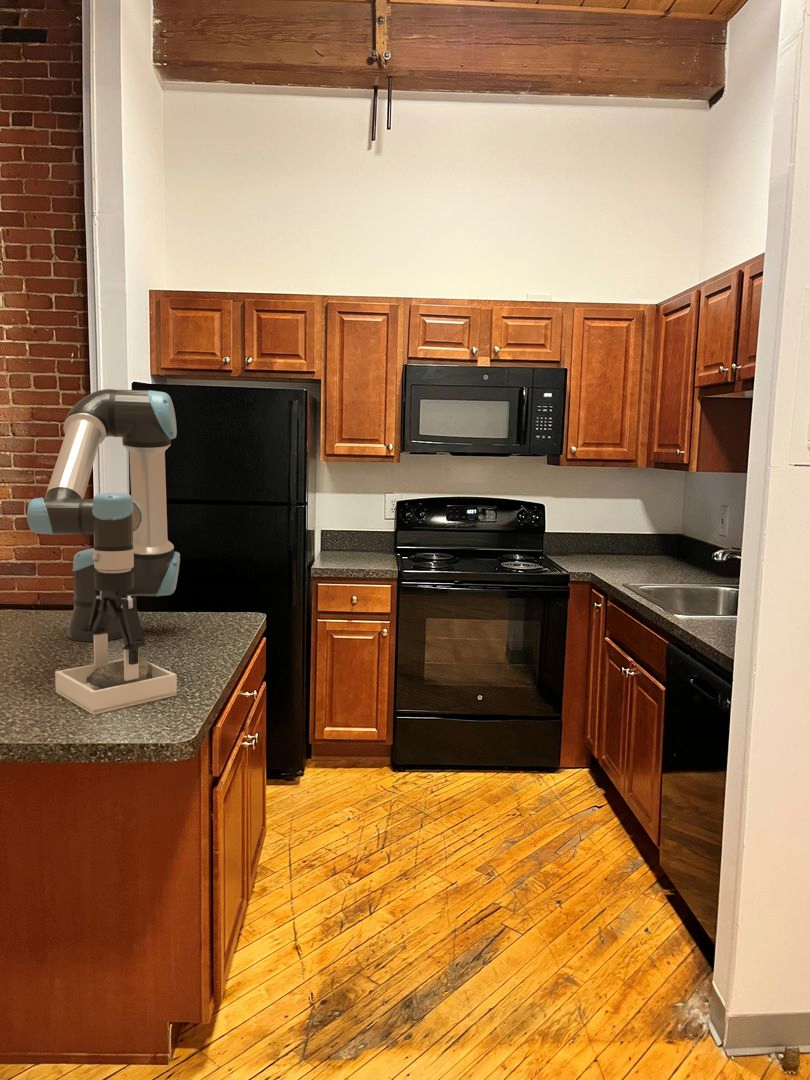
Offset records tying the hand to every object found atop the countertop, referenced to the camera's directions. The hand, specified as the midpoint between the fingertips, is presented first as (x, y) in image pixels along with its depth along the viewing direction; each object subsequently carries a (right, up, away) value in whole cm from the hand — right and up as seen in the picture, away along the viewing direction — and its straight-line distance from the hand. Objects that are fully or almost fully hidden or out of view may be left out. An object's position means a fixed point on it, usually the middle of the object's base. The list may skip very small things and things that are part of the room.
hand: (115, 671), depth 160 cm
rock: (+1, -4, +1) cm, 4 cm away
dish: (0, -5, +1) cm, 5 cm away
